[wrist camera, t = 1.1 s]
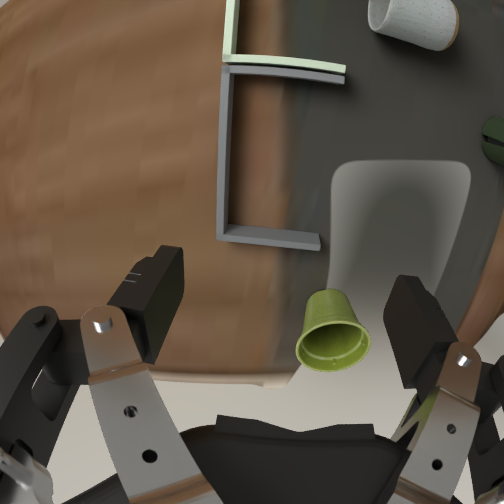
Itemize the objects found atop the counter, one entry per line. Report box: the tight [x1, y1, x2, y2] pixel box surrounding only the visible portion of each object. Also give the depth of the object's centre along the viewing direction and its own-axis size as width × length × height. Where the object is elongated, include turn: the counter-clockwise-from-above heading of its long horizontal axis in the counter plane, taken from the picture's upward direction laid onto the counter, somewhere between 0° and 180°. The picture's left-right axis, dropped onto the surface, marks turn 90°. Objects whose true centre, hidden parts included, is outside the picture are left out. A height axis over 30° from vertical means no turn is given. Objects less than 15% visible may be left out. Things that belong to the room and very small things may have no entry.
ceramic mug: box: [368, 0, 459, 51], centre depth 18 cm, size 11×8×8 cm
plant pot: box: [296, 289, 371, 372], centre depth 38 cm, size 9×9×9 cm
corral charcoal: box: [216, 65, 345, 251], centre depth 31 cm, size 12×20×3 cm, turn 177°
